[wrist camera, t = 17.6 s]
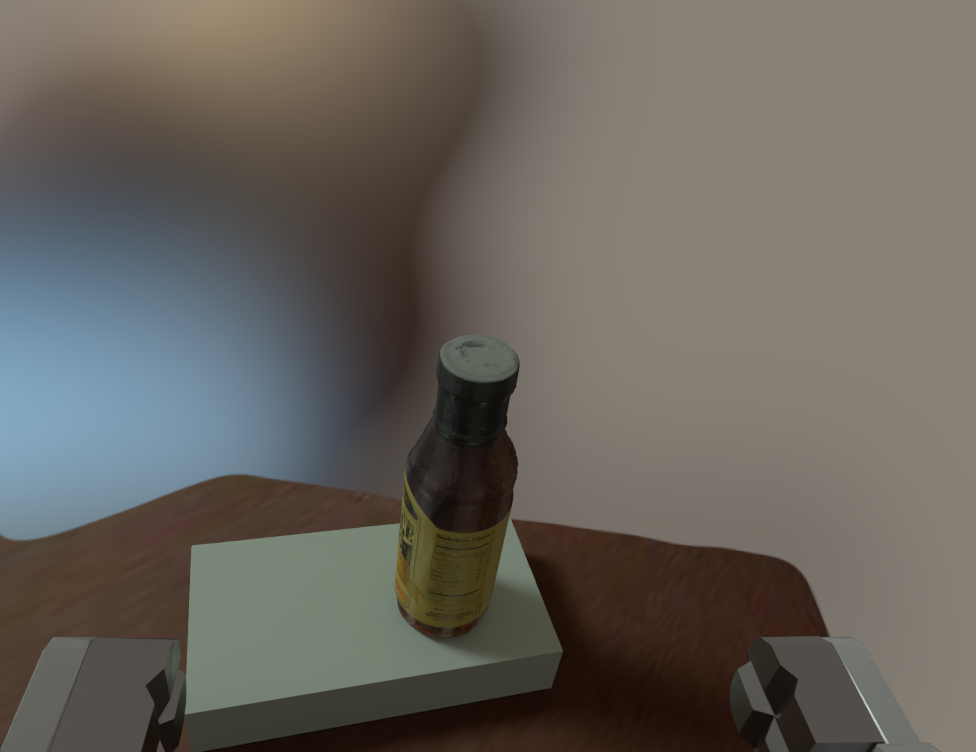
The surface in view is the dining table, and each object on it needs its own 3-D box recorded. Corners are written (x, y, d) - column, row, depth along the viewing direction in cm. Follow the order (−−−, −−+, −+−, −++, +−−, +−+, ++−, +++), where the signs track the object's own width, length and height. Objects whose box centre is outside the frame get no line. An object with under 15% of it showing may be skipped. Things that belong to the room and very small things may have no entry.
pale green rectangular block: (191, 753, 43) (184, 714, 41) (196, 585, 53) (191, 545, 50) (551, 687, 50) (562, 651, 48) (500, 548, 59) (507, 511, 57)
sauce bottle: (410, 555, 52) (439, 304, 41) (498, 580, 51) (553, 331, 40) (376, 632, 47) (399, 369, 35) (474, 661, 46) (529, 402, 35)
